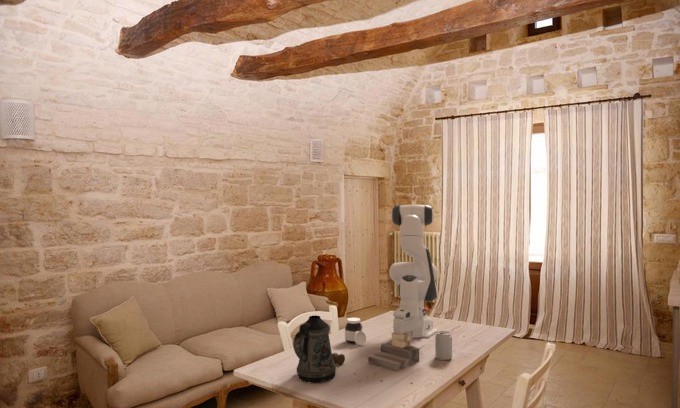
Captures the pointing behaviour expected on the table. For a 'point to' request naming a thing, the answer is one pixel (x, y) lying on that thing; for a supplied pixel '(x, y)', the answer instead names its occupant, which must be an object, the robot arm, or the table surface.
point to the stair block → (394, 357)
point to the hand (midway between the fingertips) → (409, 340)
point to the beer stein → (314, 351)
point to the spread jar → (354, 332)
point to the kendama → (338, 358)
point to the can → (443, 345)
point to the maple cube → (401, 340)
